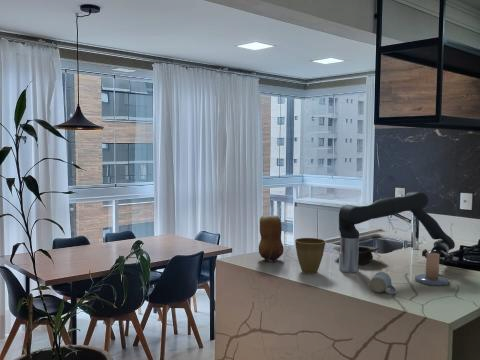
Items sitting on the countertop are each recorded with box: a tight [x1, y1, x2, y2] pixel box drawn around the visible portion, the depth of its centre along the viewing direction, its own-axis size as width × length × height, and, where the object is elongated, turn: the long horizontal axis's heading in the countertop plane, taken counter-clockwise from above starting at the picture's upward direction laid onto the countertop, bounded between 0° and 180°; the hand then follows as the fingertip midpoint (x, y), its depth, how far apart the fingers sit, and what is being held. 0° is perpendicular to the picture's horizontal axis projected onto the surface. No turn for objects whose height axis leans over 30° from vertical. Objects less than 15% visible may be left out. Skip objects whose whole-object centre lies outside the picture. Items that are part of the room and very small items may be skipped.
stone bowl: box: [332, 245, 380, 266], centre depth 258 cm, size 25×25×9 cm
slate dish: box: [414, 273, 450, 287], centre depth 221 cm, size 15×15×1 cm
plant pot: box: [294, 237, 326, 275], centre depth 233 cm, size 15×15×16 cm
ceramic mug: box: [369, 271, 397, 295], centre depth 205 cm, size 11×8×8 cm
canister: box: [425, 252, 440, 280], centre depth 221 cm, size 6×6×12 cm
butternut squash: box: [258, 214, 284, 262], centre depth 254 cm, size 14×13×25 cm
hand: (435, 257), depth 230 cm, fingers open, 8 cm apart
